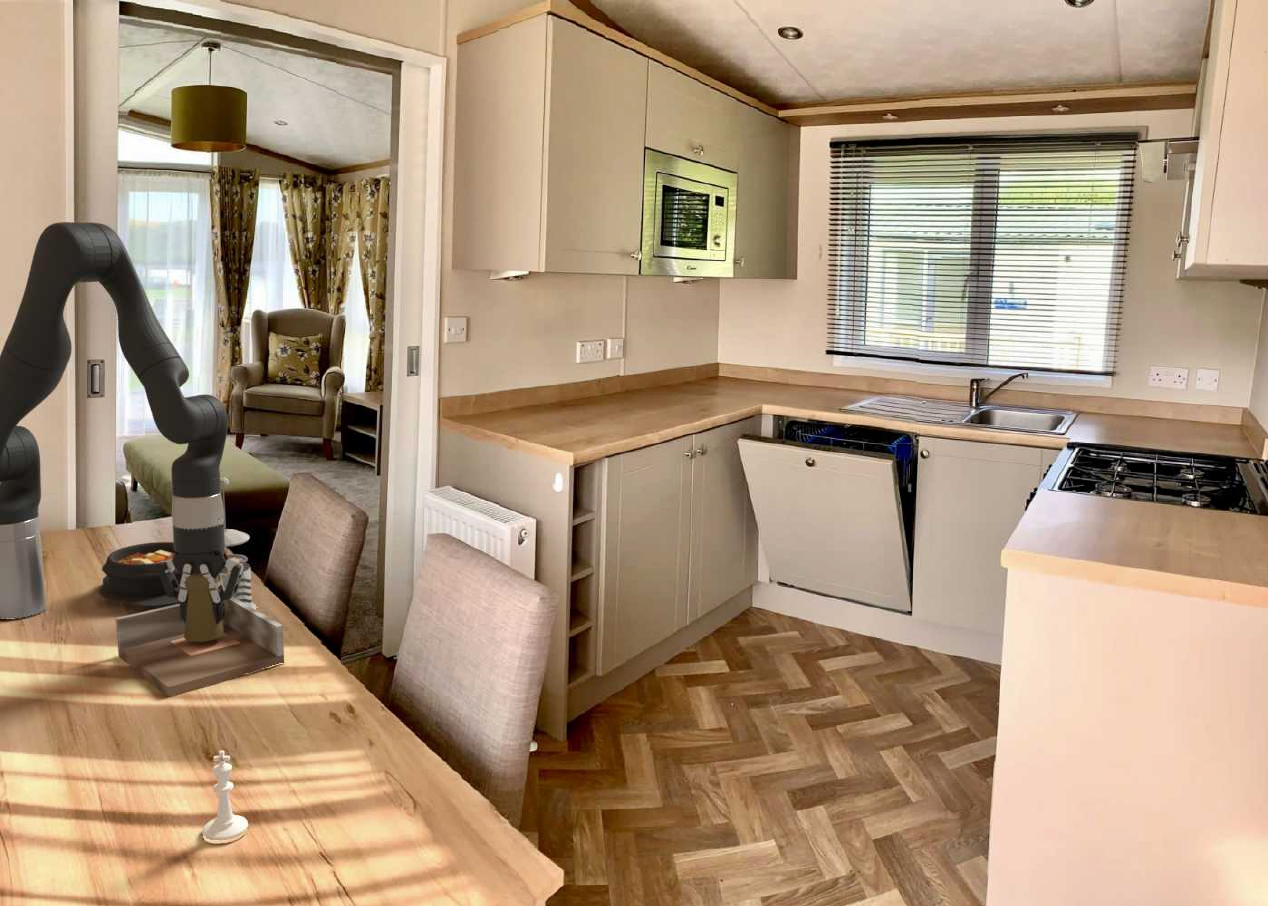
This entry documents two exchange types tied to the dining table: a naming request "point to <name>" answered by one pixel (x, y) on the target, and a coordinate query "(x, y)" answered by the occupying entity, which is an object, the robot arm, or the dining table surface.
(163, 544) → the casserole
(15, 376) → the robot arm
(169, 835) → the dining table surface
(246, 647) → the board
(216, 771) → the chess piece
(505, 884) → the dining table surface
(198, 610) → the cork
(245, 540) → the french press
